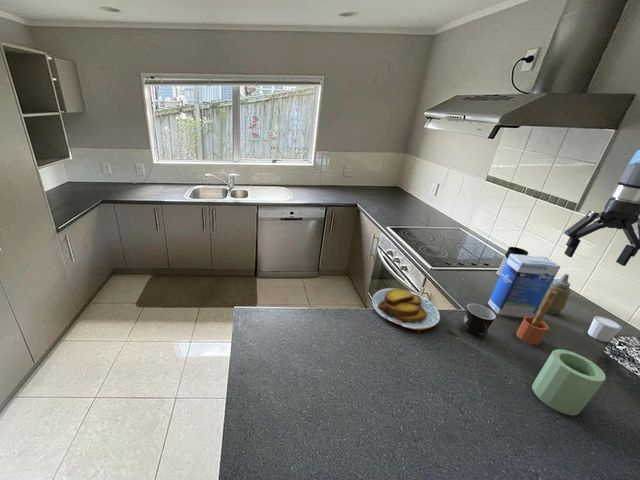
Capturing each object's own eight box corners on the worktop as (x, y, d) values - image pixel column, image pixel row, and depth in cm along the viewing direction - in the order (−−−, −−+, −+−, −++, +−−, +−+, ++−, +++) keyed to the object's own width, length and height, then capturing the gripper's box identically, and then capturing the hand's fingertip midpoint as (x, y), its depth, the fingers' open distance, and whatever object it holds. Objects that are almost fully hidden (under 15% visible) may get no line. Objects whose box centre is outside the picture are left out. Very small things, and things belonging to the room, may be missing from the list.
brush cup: (540, 340, 104) (550, 324, 101) (537, 349, 100) (547, 332, 97) (517, 330, 108) (526, 313, 105) (513, 338, 104) (522, 321, 101)
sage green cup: (581, 401, 82) (606, 367, 77) (578, 423, 76) (604, 388, 71) (535, 376, 90) (555, 343, 84) (528, 395, 84) (549, 361, 78)
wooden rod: (534, 338, 104) (561, 292, 95) (533, 343, 102) (559, 296, 93) (522, 332, 106) (546, 287, 98) (520, 337, 104) (545, 290, 96)
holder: (511, 272, 148) (523, 247, 142) (528, 288, 135) (542, 261, 129) (492, 269, 150) (503, 245, 144) (508, 285, 137) (520, 258, 131)
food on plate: (435, 344, 101) (440, 330, 98) (364, 315, 113) (367, 302, 111) (439, 306, 120) (443, 293, 117) (378, 285, 133) (381, 274, 130)
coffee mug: (461, 320, 112) (469, 300, 108) (487, 332, 107) (497, 311, 103) (454, 335, 105) (462, 314, 101) (482, 349, 99) (492, 327, 95)
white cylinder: (586, 336, 107) (595, 322, 104) (584, 327, 111) (593, 313, 109) (613, 346, 102) (624, 331, 100) (610, 336, 107) (620, 322, 104)
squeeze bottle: (565, 316, 117) (587, 280, 110) (546, 316, 117) (567, 280, 110) (547, 304, 124) (566, 269, 117) (529, 303, 124) (547, 268, 117)
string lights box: (520, 308, 121) (546, 256, 110) (533, 321, 114) (562, 266, 103) (486, 304, 122) (509, 252, 112) (496, 316, 116) (522, 262, 105)
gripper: (673, 202, 86) (634, 262, 94) (569, 191, 94) (541, 247, 102) (698, 210, 79) (653, 273, 88) (584, 197, 87) (553, 257, 96)
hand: (593, 259), depth 95 cm, fingers open, 13 cm apart
